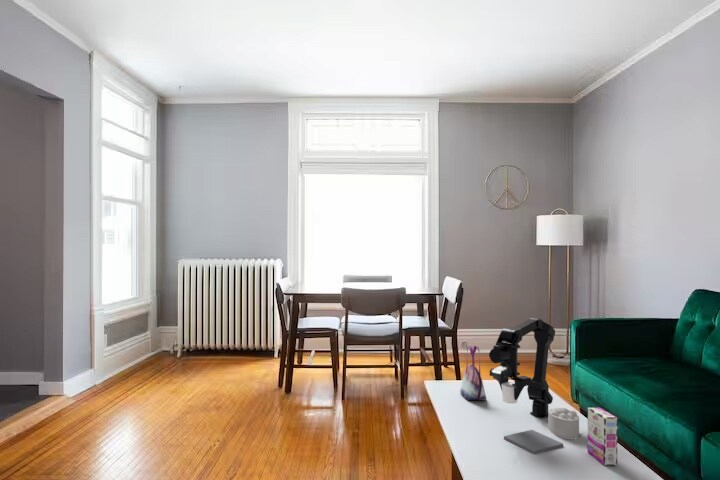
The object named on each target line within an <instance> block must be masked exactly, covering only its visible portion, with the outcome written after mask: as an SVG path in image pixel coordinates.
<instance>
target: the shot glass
mask: <svg viewBox="0 0 720 480" xmlns="http://www.w3.org/2000/svg"><path fill="white" fill-rule="evenodd" d="M514 383H515V382H511V381H508V382H504V383H502V390H501V392H502V393H501V395H502V401H503V402H504V403H506V404H517V403H518V399H517V400H515V398H514V387H513V386H512V384H514Z"/></svg>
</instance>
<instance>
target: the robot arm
mask: <svg viewBox="0 0 720 480" xmlns="http://www.w3.org/2000/svg"><path fill="white" fill-rule="evenodd" d="M500 331H501V332H500V334H499V335H498V338H497V340H496V342H495V345H493V348H491V350H490V351H489V353H488V356H489V360H490V361H491V362H492V363H494V364H499V366H496V367H494V368H491V369H489V377H490V376H491V377H492V378H493V380H496V381H497V382H498V384H499V387H500V389H501V391H502V383H504V382H509V380H512V381H513V383H514V384H512V386H513V387H514V398H515V400H517V401H518V399H519V397H520V395H521V393H522V391H523V390H524V388H525V387H526V390H527V395H528V400H531V401H532V404H531V406H532V409H531V410H532V411H530V412H529V414H530V415H533V416H535V417H537V418H540V419H544V418H548V411H549V405H551V404H552V403H553V400H554V397H553V395H552V394H551V393H550V391H549V390H550V389H549V386H550V385H549V384H548V381H547V380H546V379H547V378H546V376H547V366H548V361H549V360H548V358H549V348H550V345H551V344H552V343H553V342H554V339H555V335H556V330H555V329H554V327H553V325H550V324H549V323H547V322H545V321H544V320H542V318H538V317H529V319H527V320H525V321H524V322H522V323H520V324H518V325H516V326H513V327H512V326H511V327H510V326H508V327H504V328H503V329H501V330H500ZM530 333H533V339H534V340H535V342H536V351H535V352H536V353H535V360H534V361H535V362H534V369H533V370H534V371H533V377H532V378H531V377H529V376H527V375H521V376H520V372H519V371H518V366H520V365H521V363H520V362H519V361H518V359H519V358H518V356H519V355H518V353H519V352H518V351H519V350H518V349H520V348H521V346H520V344H519V343H520V342H521V341H522V340H523V337H524V336H526V335H528V334H530Z"/></svg>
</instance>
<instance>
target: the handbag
mask: <svg viewBox="0 0 720 480" xmlns="http://www.w3.org/2000/svg"><path fill="white" fill-rule="evenodd" d="M468 350H469V351H470V355H471V359H472V360H471V361H472V362H471V363H472V364H469V365H468V363H469V362H468V355H469V354H468ZM477 350H478V352H480V348H479V347H478V346H477V345H474V346H472V345H469V346H467V349H466V353H467V354H466V357H467V358H466V368H465V370H464V373H463V376H462V381H461V386H460V391H459V392H460V395H461V396H462V397H463V398H464V399H465V400H466V401H473V400H479V401H482V400H483V401H486V400H487V395H486V391H485V387H484V383H483V378H482V376H481V364H480V363H481V360H480V357H479V358H478V368H477V367H476V366H475V365H476V364H475V363H476V362H475V354H476V351H477Z"/></svg>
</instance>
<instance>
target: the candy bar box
mask: <svg viewBox="0 0 720 480" xmlns="http://www.w3.org/2000/svg"><path fill="white" fill-rule="evenodd" d="M618 423H619V418H618V417H617V416H616V415H613V414H612V413H610V412H608V411H606V410H605V409H604V408H601V407H598V406H597V407H587V443H586V445H587V450H586V451H587V454H589V455H590V456H592V457H593V458H594V459H595V460H596V461H597V462H599V463H600V464H602V465H603V466H605V467H609V466H608V465H617V466H618V435H619V434H618V431H619V430H618V428H619V427H618V425H619V424H618Z"/></svg>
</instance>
